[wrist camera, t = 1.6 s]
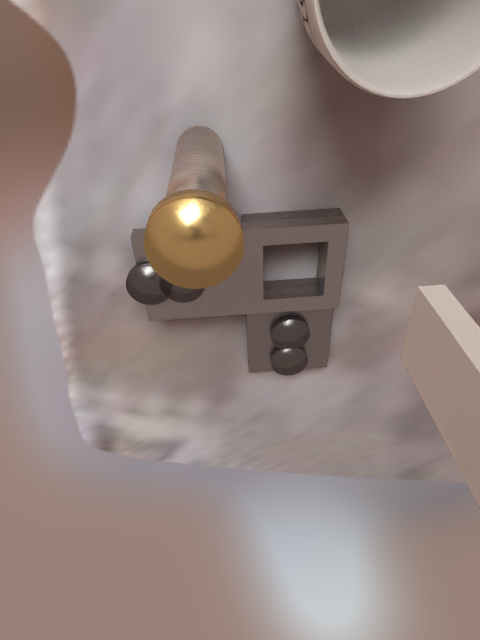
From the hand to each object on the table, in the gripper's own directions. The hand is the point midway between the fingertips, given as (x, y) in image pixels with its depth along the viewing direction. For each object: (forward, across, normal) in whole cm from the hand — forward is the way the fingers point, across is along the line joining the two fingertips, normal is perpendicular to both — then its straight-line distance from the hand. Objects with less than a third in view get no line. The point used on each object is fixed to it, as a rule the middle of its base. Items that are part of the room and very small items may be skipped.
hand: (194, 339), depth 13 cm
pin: (+19, 0, 0) cm, 19 cm away
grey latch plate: (+19, +6, -12) cm, 23 cm away
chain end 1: (+17, +2, -8) cm, 19 cm away
